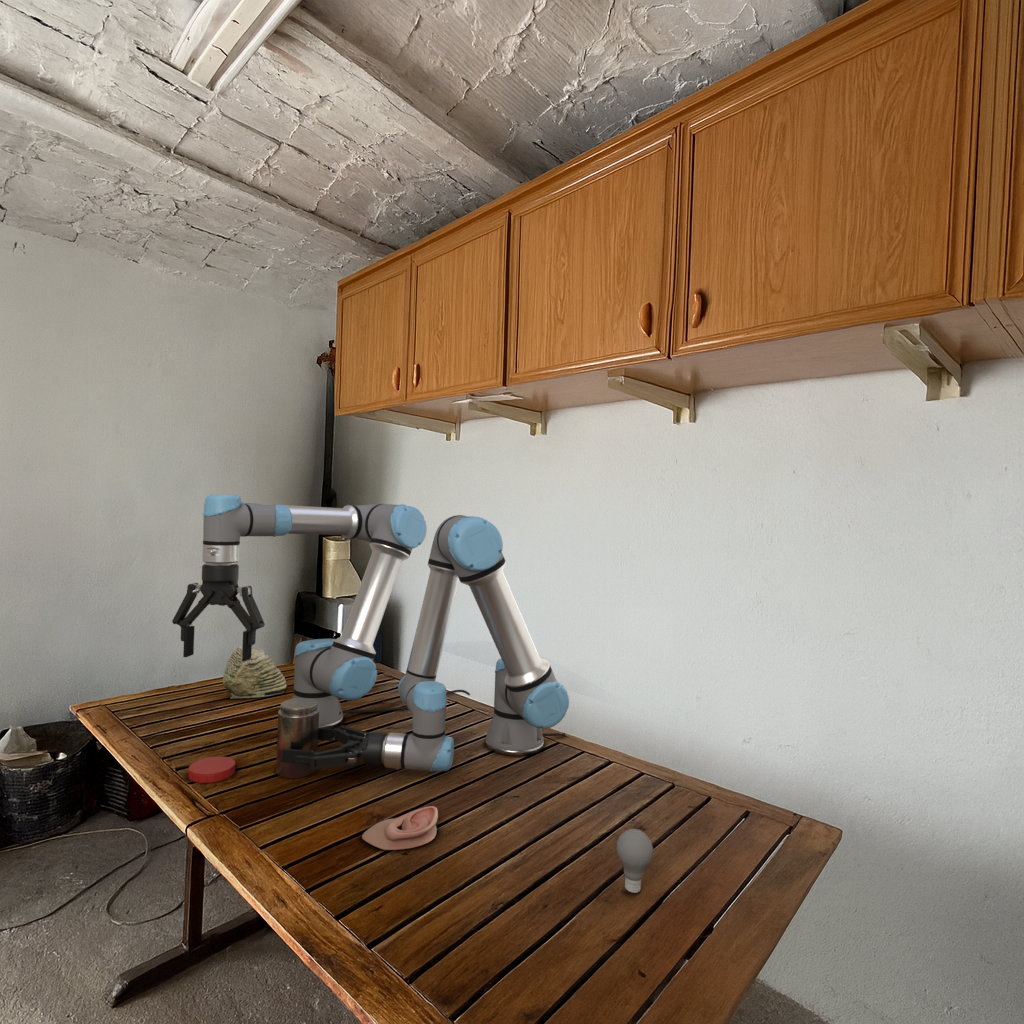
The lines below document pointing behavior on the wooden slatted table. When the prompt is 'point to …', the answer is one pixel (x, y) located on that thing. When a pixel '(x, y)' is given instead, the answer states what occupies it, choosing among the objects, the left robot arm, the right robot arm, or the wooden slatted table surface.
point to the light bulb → (634, 857)
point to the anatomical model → (404, 830)
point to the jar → (297, 734)
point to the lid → (211, 769)
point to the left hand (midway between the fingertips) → (217, 657)
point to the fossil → (252, 675)
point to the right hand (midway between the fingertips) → (294, 743)
